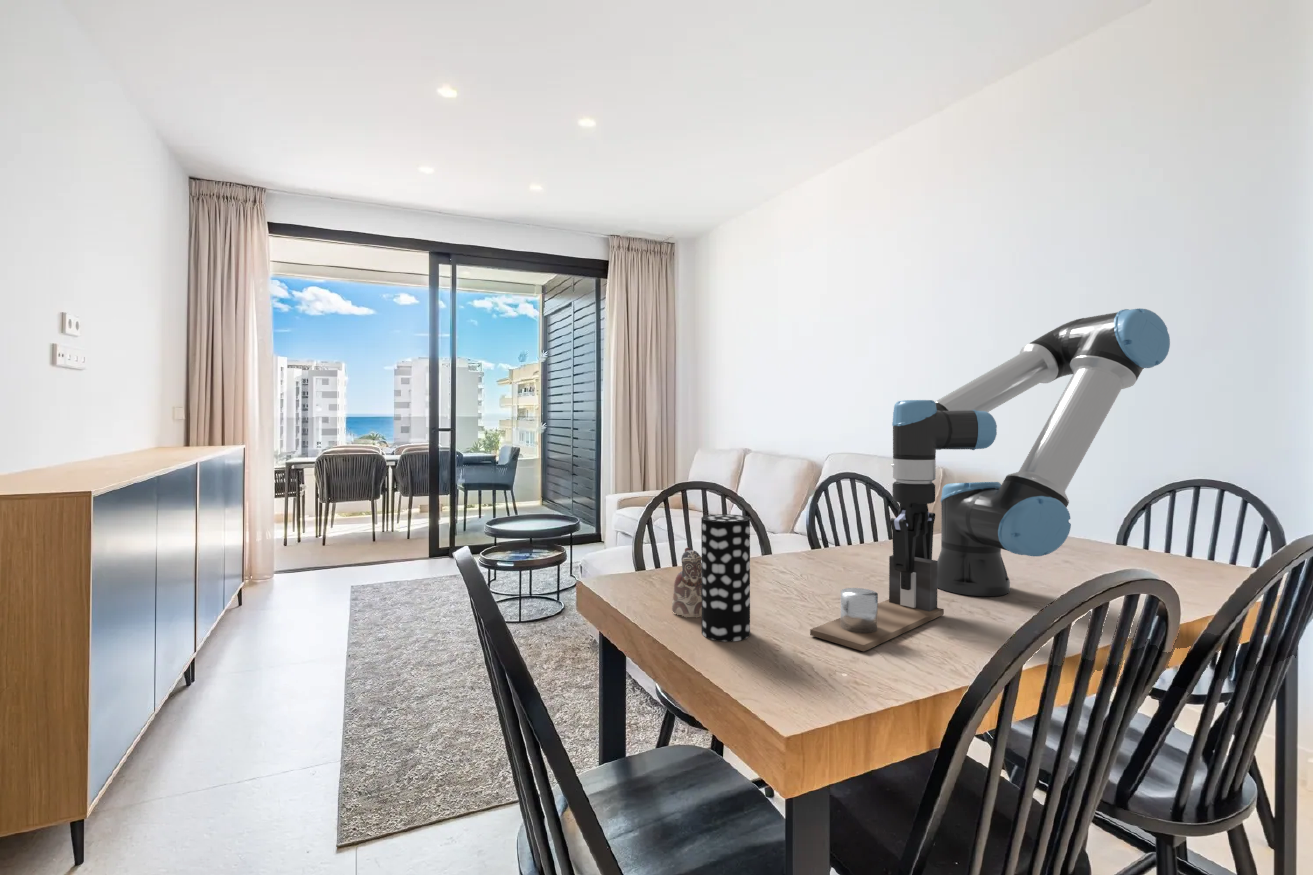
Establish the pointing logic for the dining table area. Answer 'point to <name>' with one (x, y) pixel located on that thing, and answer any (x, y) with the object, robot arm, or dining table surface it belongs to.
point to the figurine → (688, 586)
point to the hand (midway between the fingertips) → (912, 603)
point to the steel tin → (859, 610)
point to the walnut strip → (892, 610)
